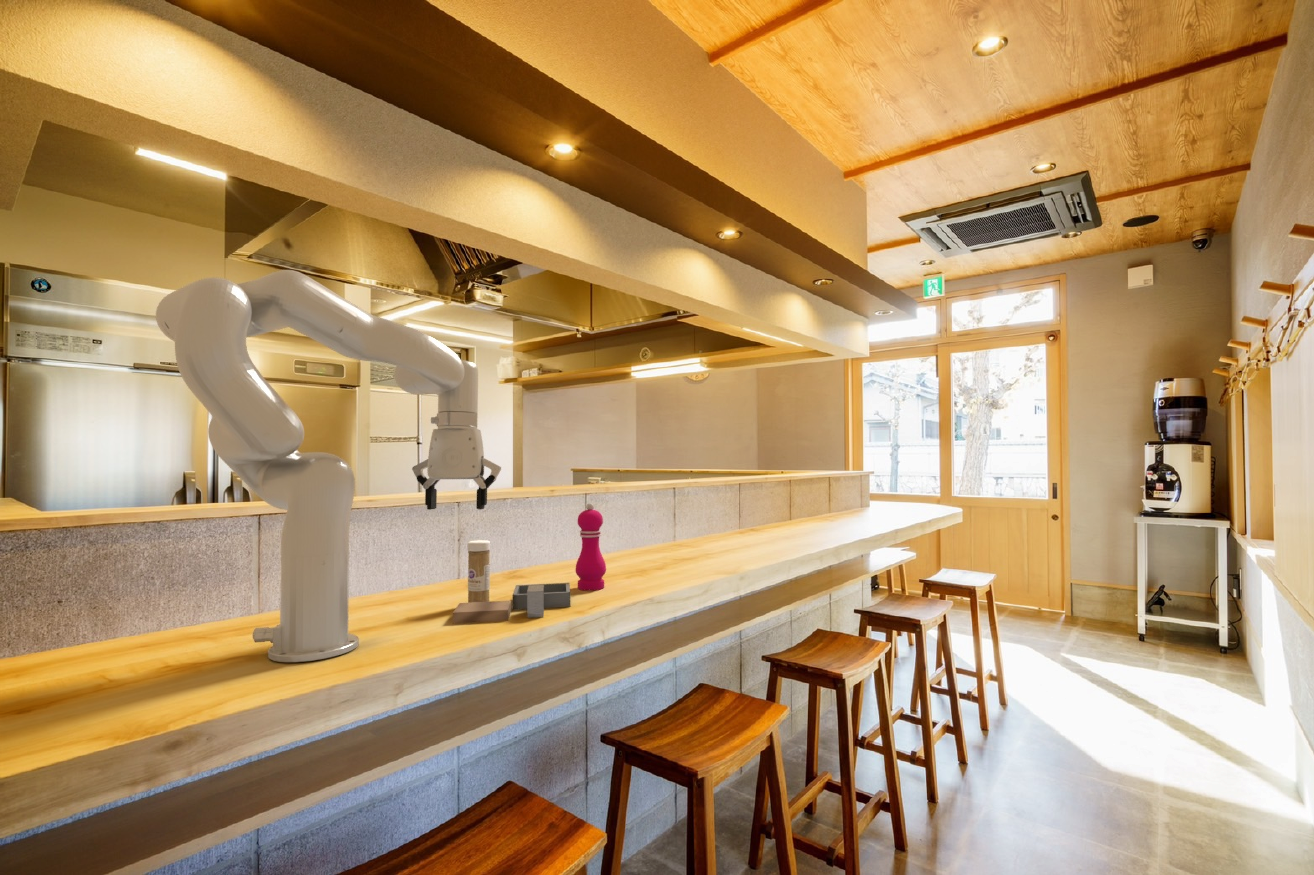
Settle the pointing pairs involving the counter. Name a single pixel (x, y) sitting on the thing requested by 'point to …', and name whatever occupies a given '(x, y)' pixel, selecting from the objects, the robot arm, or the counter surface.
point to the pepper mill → (590, 551)
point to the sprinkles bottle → (478, 571)
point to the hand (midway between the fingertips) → (456, 509)
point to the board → (482, 612)
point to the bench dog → (535, 601)
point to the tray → (552, 595)
